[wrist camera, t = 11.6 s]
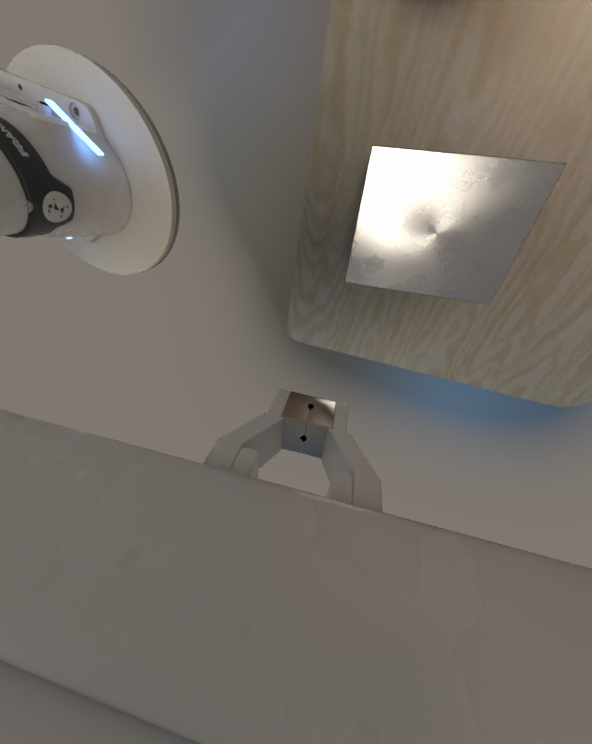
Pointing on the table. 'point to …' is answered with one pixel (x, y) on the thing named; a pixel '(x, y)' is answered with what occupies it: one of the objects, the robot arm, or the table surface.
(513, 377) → the table surface
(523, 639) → the robot arm
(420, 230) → the lid
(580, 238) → the table surface
